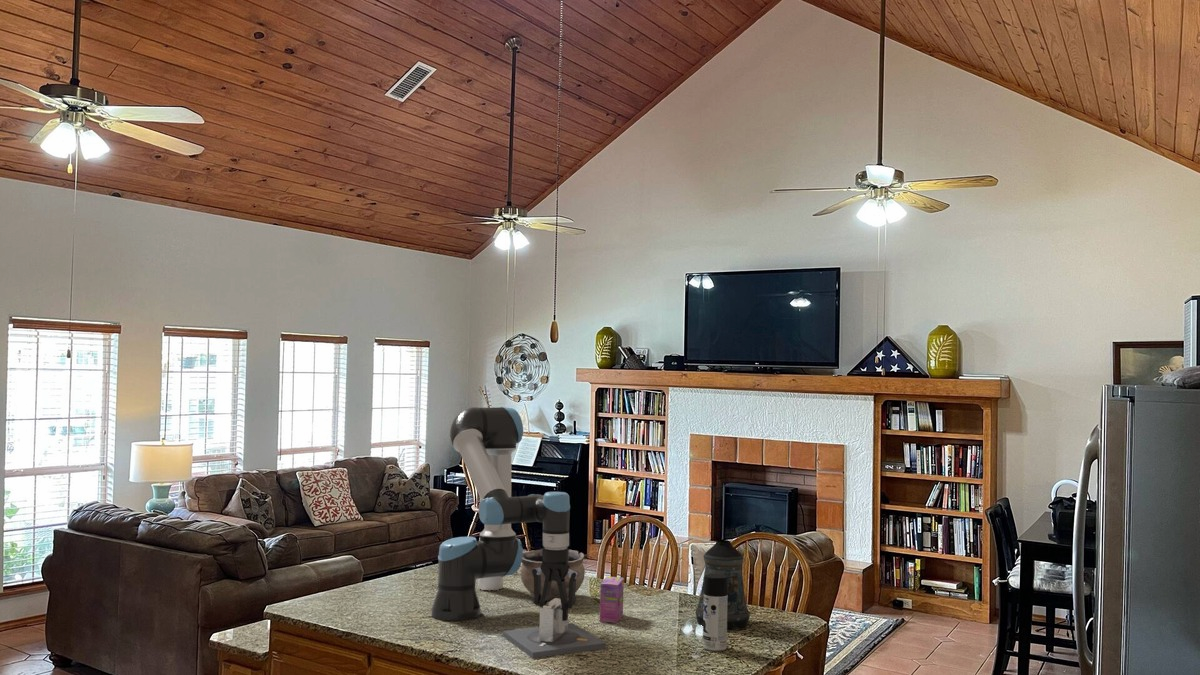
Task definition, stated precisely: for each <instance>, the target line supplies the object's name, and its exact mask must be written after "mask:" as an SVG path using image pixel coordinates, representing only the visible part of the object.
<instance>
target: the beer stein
mask: <svg viewBox="0 0 1200 675" xmlns="http://www.w3.org/2000/svg"><path fill="white" fill-rule="evenodd" d="M744 560H745V557H744V556H743V555H742V553H741V552H740V551H739V550H738V549H737V548H735V546H733V545H732V543H731V540H728V539H718V540H716V542H715V544H714V545H712V547H710V548H709V549H708V550H707V551H706V552H705V553H704V554H703V561H704V564H705V566H704V573H703V577H702V586H701V590H700V596H699V600H698V603H697V606H696V609H695V618H696V622H698V623H697V624H698V625H699V626H700V625H702V626H703V607H704V576H705V575H706V574H722V575H726V576H727V577H728V599H727V631H738V630H743V629H744V630H745V629H746V628H747V627H748V626H749V620H750V617H751V613H750V610H749V609H748V607H747V601H746V595H745V594H746V593H745V585H744V576H743V571H742V566H743V563H744ZM702 626H701V627H702Z"/></svg>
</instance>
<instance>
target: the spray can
mask: <svg viewBox="0 0 1200 675" xmlns="http://www.w3.org/2000/svg"><path fill="white" fill-rule="evenodd" d="M703 578H704V607H703V627H702V630H703V631H702V647H703V649H704V650H705V651H709V652H715V653H719V652H724V651H725V650H727V643H728V642H727V641H728V637H727V636H728V630H727V599H728V577H727V576H726V575H722V574H706V575H705V576H704V575H703Z"/></svg>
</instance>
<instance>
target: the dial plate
mask: <svg viewBox="0 0 1200 675" xmlns="http://www.w3.org/2000/svg"><path fill="white" fill-rule="evenodd" d="M539 627H540V626H536V627H529V628H528V627H526V628H519V629H509V630H502V637H503V638H505V639H506V640H507V641H508V642H510V643H511V644H513V645H514V646H515V647H517V648H518V649H520V650H521V651H522V652H524V653H525V654H526V655H527V656H528V657H530V658H532V659H537V658H544V657H551V656H559V655H560V656H561V655H567V654H575V653H582V652H591V651H596V650H604V649H607V642H605V641H604V640H602V639H600V638H599V637H597V636H596V635H593V634H592V633H591V632H588V631H587V630H585V629H583V628H581V627H580V626H578V625H577V624H575V623H573V622H570V623H569V622H568V631H567V632H566V633H564V634H563V635H562V636H560V637H559V638H558V639H556V640H555V641H554V642H545V641H539Z"/></svg>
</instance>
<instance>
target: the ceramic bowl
mask: <svg viewBox="0 0 1200 675" xmlns="http://www.w3.org/2000/svg"><path fill="white" fill-rule="evenodd" d="M542 549H543V548H540V549H536V550H531V551H526V552H523V557H522V562H521V566H520V567H521V569H520V578H521V582H522V584H523V586H524V587H525V589H526V590H527V591H528V593H530V594H531V595H532V596H533V597H534V577H533V574H532V570H533V569H535V568H539V567H541V564H542ZM584 557H585V554H584V553H583V552H579V551H578V550H572V549H569V561H568V564H569V567H570V569H571V570H573V571H577V572H578V576H577V579H576V591H575V594H576V593H577V592H578V591H579V589H580V588H581V586H582V584H583V582H584V581H585V577H586V576H585V574H586V572H585V566H584V564H583V561H584ZM569 580H570V578H569V574H567V575H566V576H565V586H566V592H567V598H568V594H569ZM544 581H545V575H544V574H543V572H542V571H541V598H542V593H543V588H544ZM555 598H560V594H559V588H558V585H557V582H556V581H552V583H551V587H550V592H549V597H548V601H551V600H553V599H555Z"/></svg>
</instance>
